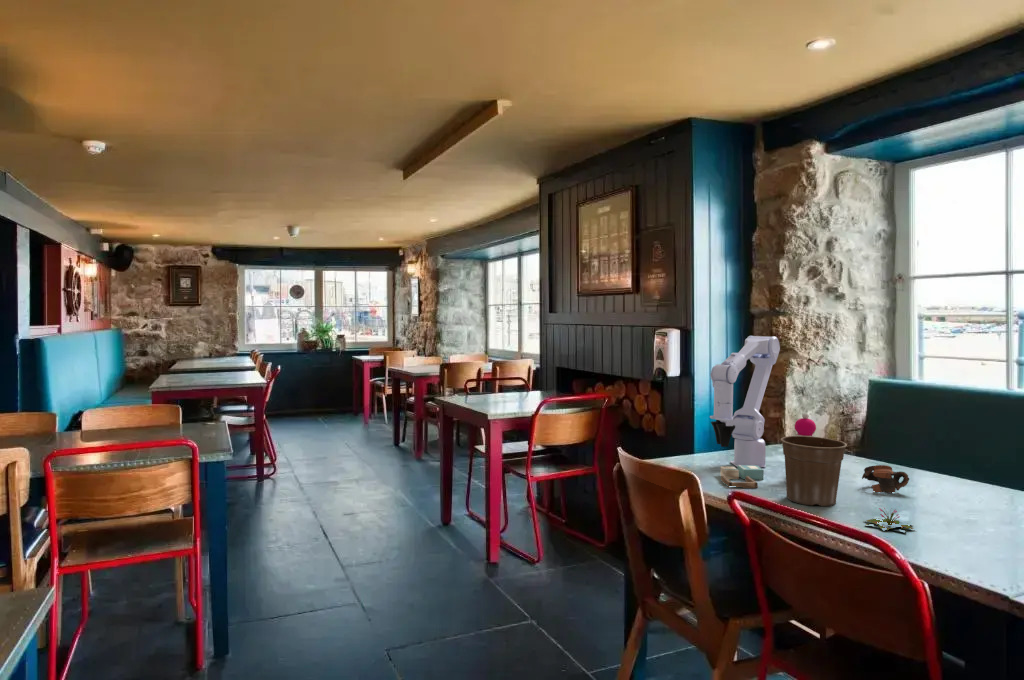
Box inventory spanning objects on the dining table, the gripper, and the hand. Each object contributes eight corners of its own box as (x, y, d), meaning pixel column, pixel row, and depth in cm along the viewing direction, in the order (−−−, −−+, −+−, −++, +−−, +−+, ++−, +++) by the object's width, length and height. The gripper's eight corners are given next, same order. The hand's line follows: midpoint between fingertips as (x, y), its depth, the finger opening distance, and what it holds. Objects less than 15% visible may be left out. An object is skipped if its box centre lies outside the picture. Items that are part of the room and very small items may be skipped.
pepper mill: (791, 480, 208) (792, 414, 207) (791, 474, 215) (792, 411, 214) (817, 482, 205) (819, 415, 205) (816, 477, 212) (818, 412, 211)
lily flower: (912, 540, 155) (913, 520, 155) (854, 529, 163) (855, 509, 162) (923, 527, 164) (923, 508, 164) (867, 517, 172) (868, 499, 172)
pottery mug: (861, 493, 195) (857, 465, 199) (870, 502, 201) (865, 474, 205) (909, 489, 188) (903, 460, 192) (916, 498, 195) (910, 470, 198)
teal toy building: (756, 475, 214) (756, 465, 214) (763, 479, 208) (763, 469, 208) (737, 474, 214) (737, 464, 214) (743, 479, 208) (743, 469, 208)
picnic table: (748, 481, 206) (748, 476, 206) (757, 488, 198) (757, 483, 198) (720, 480, 207) (721, 475, 207) (729, 487, 198) (729, 482, 198)
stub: (733, 476, 214) (733, 466, 213) (738, 480, 209) (738, 470, 208) (720, 476, 214) (720, 466, 213) (725, 480, 209) (725, 469, 208)
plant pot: (854, 501, 185) (856, 441, 185) (831, 513, 174) (832, 449, 173) (794, 489, 197) (796, 433, 196) (769, 500, 186) (770, 440, 185)
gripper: (704, 399, 225) (703, 440, 226) (717, 405, 211) (716, 449, 211) (726, 399, 225) (725, 441, 226) (740, 405, 211) (739, 449, 211)
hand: (722, 445), depth 218 cm, fingers open, 4 cm apart
